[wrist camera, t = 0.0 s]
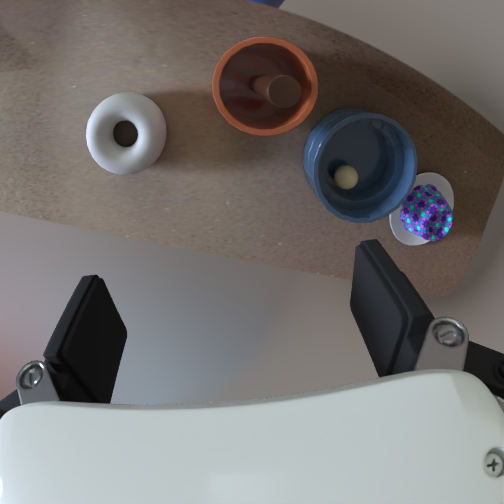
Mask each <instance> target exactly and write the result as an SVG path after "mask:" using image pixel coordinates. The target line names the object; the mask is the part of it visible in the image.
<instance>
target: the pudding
mask: <svg viewBox="0 0 504 504" xmlns="http://www.w3.org/2000/svg"><path fill="white" fill-rule="evenodd" d="M453 207H454V195H453V191H452V188H451V186H450V184H449V182H448V181H447V180H446V179H445V178H444V177H443V176H441V175H439V174H436V173H422V174H419V175H417V176H416V181H415V183H414V185H413V187H412V190H411V192H410V194H409V196H408V197H407V198H406V199H405V201H404V202H403V203H402V204H401V206H400V207H399V208H398V209H396V210H395V211H394V212H392V213H391V214H390V225H391V229H392V231H393V234H394V235H395V236H396V238H397V239H398V240H399V241H401V242H403V243H404V244H408V245H421V244H424V243H427V242H429V241H438V240H440V238H444V237H445V236H446V235H447V234H448V232H449V229H451V228H452V226H453V216H454V215H453Z"/></svg>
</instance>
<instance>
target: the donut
mask: <svg viewBox="0 0 504 504" xmlns="http://www.w3.org/2000/svg"><path fill="white" fill-rule="evenodd" d="M123 120H127V121H130V122H132V123H133V124H134V125H135V126H136V128H137V130H138V138H137V141H136V143H134V144H133V145H132V146H130V147H122V146H120V145H118V144H117V143H116V141H115V140H114V137H113V129H114V127H115V125H116V124H117V123H118V122H120V121H123ZM166 136H167V131H166V121H165V119H164V117H163V114H162V112H161V110H160V109H159V107H158V106H157V105H156V104H155V103H154V102H153V101H152V100H150V99H149V98H147V97H145V96H143V95H141V94H137V93H131V92H125V93H119V94H114V95H113V96H111V97H109V98H107V99H105V100H103V101H102V102H101V103H100V104H99V105H98V106H97V107H96V109H95V110H94V111H93V113H92V115H91V117H90V119H89V121H88V125H87V131H86V138H87V145H88V148H89V151H90V153H91V155H92V157H93V158H94V159H95V161H96V162H97V163H98V164H99V165H100V166H101V167H103V168H104V169H106V170H108V171H110V172H112V173H116V174H121V175H127V174H135V173H138V172H140V171H142V170H144V169H147V168H148V167H149V166H150V165H151V164H153V163H154V162H155V161H156V160H157V159H158V157H159V155H160V154H161V152H162V150H163V149H164V145H165V140H166Z"/></svg>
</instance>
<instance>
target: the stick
mask: <svg viewBox="0 0 504 504" xmlns="http://www.w3.org/2000/svg"><path fill="white" fill-rule="evenodd" d="M249 87H250V88H251V90H253V91H254V92H256V93H257V94H259V95H261V96H262V97H264V98H265V99H267V100H268V101H270V102H271V103H273V104H274V105H276V106H278V107H281V108H289V107H292V106H294V105H295V104H297V103H298V101H299V100H300V98H301V95H302V89H301V86H300V84H299V82H298V81H297V80H296V79H295V78H293V77H291V76H287V75H256V76H253V77H252V78H251V79H250V81H249Z"/></svg>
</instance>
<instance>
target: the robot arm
mask: <svg viewBox="0 0 504 504" xmlns="http://www.w3.org/2000/svg"><path fill="white" fill-rule="evenodd" d="M350 306H351V311H352V314H353V316H354V318H355V320H356V323H357V325H358V327H359V329H360V332H361V334H362V337H363V339H364V341H365V344H366V346H367V349H368V351H369V354H370V356H371V358H372V361H373V363H374V366H375V368H376V371H377V373H378V376H379V378H376V379H371V380H367V381H362V382H357V383H352V384H347V385H342V386H337V387H331V388H326V389H321V390H315V391H309V392H303V393H296V394H290V395H282V396H275V397H266V398H258V399H249V400H239V401H227V402H213V403H196V404H165V405H130V404H129V405H128V404H110V401H111V397H112V393H113V389H114V385H115V381H116V377H117V372H118V369H119V365H120V361H121V357H122V353H123V350H124V346H125V343H126V339H127V330H126V327H125V325H124V323H123V321H122V319H121V317H120V315H119V313H118V311H117V309H116V307H115V304H114V302H113V300H112V298H111V296H110V293H109V291H108V289H107V287H106V285H105V282H104V280H103V279H102V278H99V276H98V275H89V276H83V277H82V278H81V280H80V282H79V284H78V285H77V287H76V289H75V291H74V293H73V295H72V297H71V299H70V300H69V302H68V304H67V306H66V308H65V310H64V312H63V314H62V316H61V318H60V320H59V322H58V324H57V326H56V328H55V330H54V332H53V334H52V336H51V338H50V341H49V343H48V345H47V347H46V350H45V352H44V354H43V356H44V357H45V361H44V363H43V362H42V361H37V360H36V361H31V362H29V363H27V364H26V365H25V366H23V367H22V369H21V370H20V371H19V373H18V375H17V378H16V387H17V389H16V390H15V391H13V392H12V393H11V394H9V395H8V396H6V397H5V398H4V399H2V400H1V401H0V504H504V354H502V353H500V352H497V351H495V350H492V349H489V348H487V347H484V346H482V345H479V344H476V343H474V342H471V341H469V334H468V331H467V329H466V327H465V326H464V325H463V324H462V323H461V322H459V321H458V320H456V319H454V318H451V317H439V318H436V319H435V318H434V316H433V315H432V313H431V312H430V310H429V309H428V307H427V306H426V304H425V303H424V301H423V300H422V298H421V297H420V295H419V294H418V292H417V291H416V289H415V288H414V287H413V285H412V284H411V282H410V281H409V279H408V278H407V277H406V275H405V274H404V273H403V272H401V271H400V270H399V269H398V267H397V266H396V264H395V263H394V262H393V260H392V259H391V257H390V256H389V255H388V253H387V252H386V251H385V249H384V248H383V247H382V245H381V244H380V243H379V241H378V240H377V239H373V240H366V241H361V243H360V245H358V246H356V250H355V262H354V272H353V282H352V291H351V299H350Z"/></svg>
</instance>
